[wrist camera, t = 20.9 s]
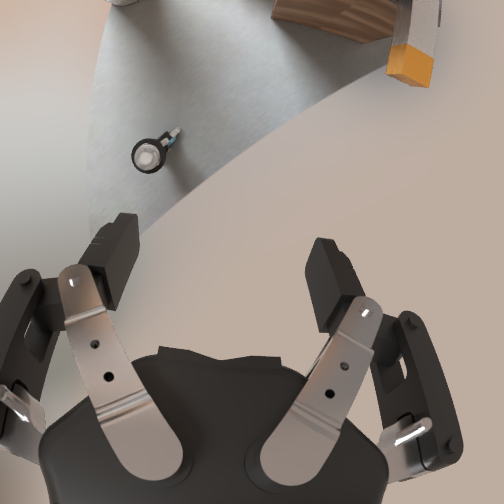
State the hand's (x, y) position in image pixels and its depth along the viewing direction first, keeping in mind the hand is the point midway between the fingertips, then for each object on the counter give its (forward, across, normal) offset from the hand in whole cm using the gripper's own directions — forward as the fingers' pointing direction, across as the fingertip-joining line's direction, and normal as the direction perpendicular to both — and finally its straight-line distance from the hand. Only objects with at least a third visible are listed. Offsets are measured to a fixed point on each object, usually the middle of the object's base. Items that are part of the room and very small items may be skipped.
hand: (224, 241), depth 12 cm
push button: (+36, +11, +6) cm, 38 cm away
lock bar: (+15, -14, -23) cm, 31 cm away
